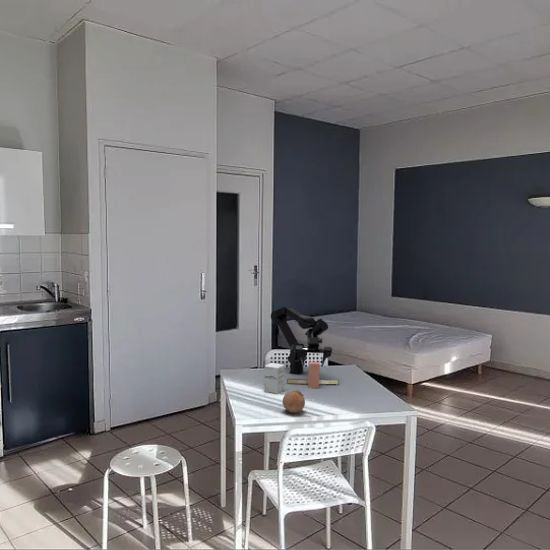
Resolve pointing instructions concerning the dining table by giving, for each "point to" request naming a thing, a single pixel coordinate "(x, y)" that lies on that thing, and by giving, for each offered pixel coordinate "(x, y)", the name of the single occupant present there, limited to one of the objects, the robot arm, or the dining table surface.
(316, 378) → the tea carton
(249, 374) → the dining table surface
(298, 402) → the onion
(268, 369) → the supplement box
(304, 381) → the price rail
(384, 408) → the dining table surface
